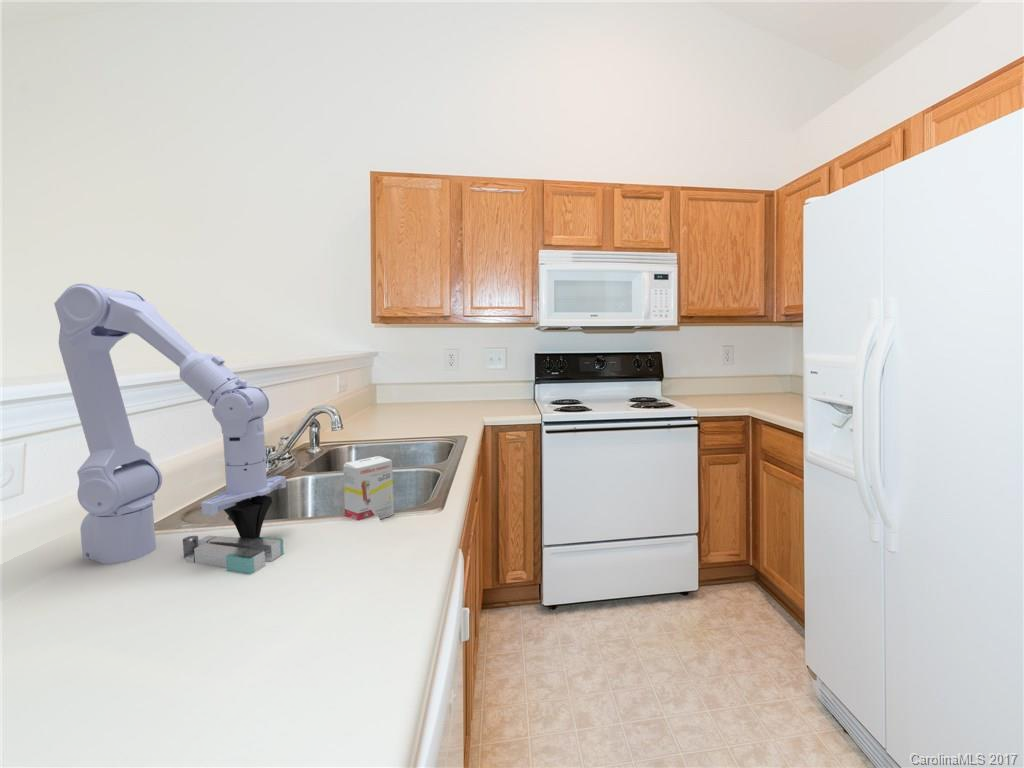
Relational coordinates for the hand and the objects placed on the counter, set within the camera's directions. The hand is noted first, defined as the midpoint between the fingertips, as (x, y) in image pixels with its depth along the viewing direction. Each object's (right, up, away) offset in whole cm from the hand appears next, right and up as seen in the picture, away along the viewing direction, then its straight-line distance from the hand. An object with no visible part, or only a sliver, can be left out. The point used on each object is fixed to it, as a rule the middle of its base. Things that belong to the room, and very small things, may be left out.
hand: (250, 542), depth 74 cm
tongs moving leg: (0, -1, -2) cm, 2 cm away
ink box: (+14, -1, +17) cm, 22 cm away
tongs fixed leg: (-2, -2, -5) cm, 5 cm away
